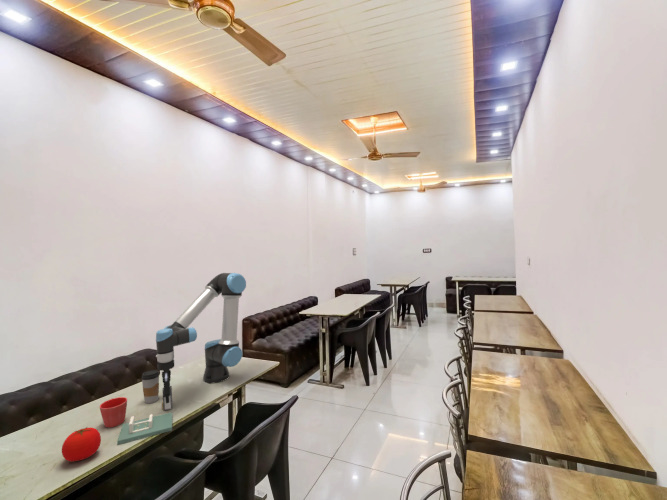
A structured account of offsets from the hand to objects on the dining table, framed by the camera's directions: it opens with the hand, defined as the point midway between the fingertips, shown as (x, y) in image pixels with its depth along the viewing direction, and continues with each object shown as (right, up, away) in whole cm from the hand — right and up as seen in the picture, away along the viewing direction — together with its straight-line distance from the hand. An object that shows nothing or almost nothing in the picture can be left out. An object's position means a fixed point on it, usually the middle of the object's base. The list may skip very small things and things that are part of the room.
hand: (168, 406), depth 161 cm
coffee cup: (-13, -1, +9) cm, 16 cm away
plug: (0, -1, 0) cm, 1 cm away
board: (0, -1, -19) cm, 19 cm away
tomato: (-14, -2, -37) cm, 40 cm away
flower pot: (-18, -2, -12) cm, 22 cm away
